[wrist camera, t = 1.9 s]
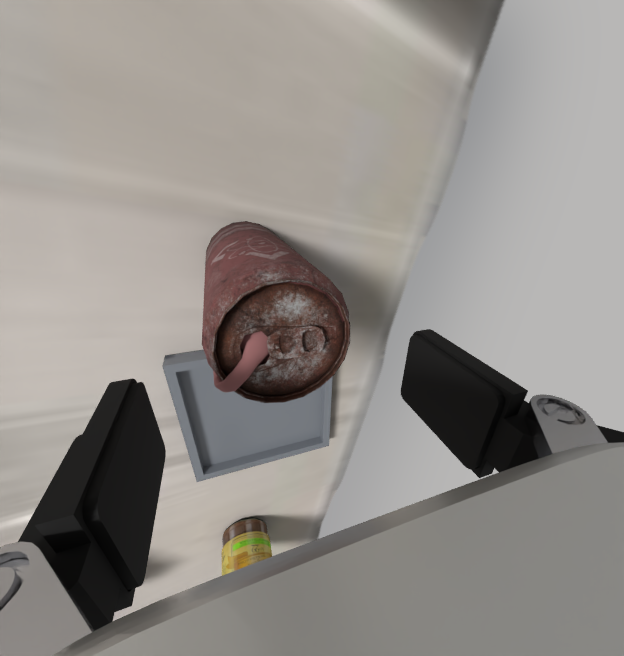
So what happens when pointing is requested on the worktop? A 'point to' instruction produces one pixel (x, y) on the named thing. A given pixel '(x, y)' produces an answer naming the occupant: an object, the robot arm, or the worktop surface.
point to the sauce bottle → (244, 545)
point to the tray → (240, 420)
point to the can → (269, 317)
